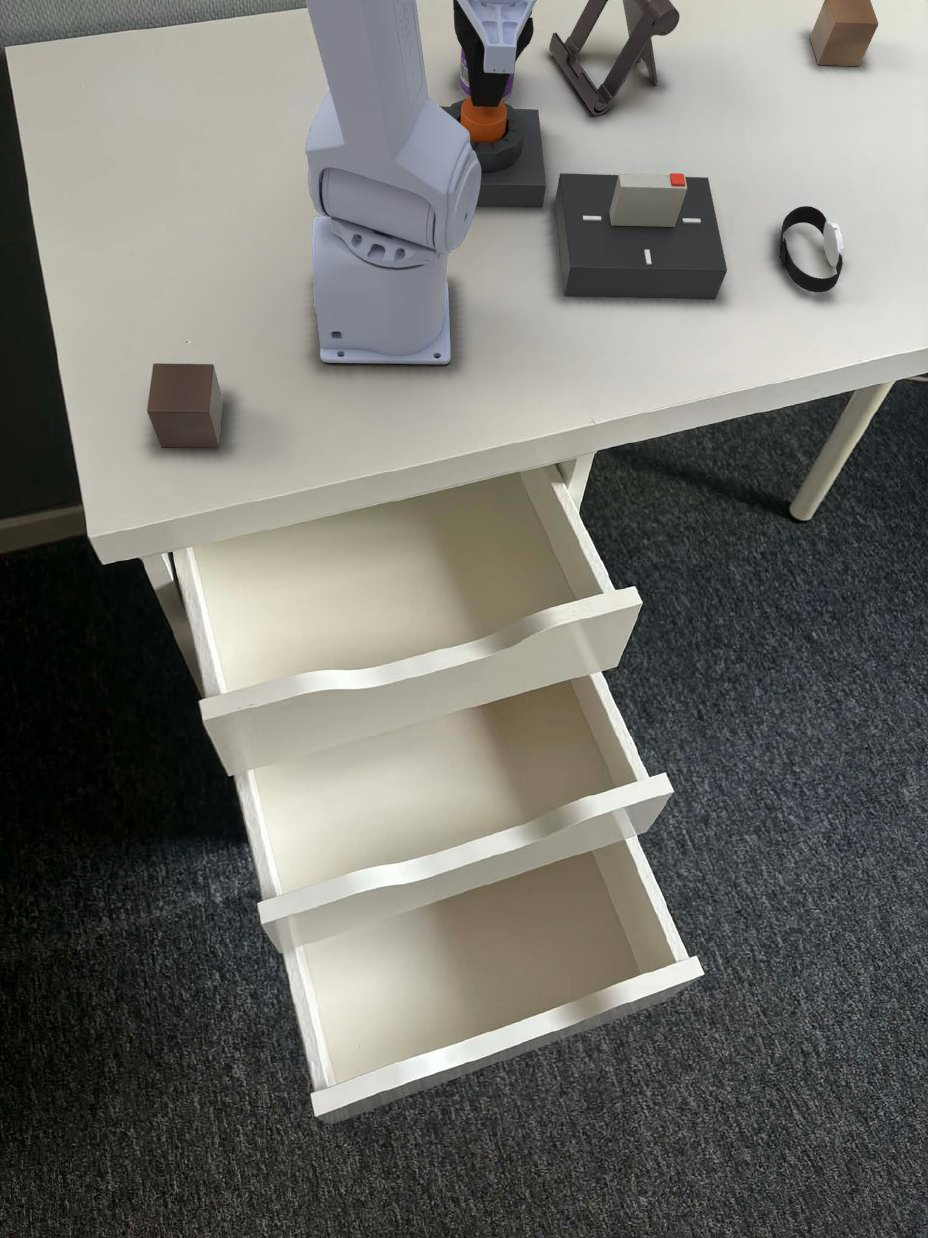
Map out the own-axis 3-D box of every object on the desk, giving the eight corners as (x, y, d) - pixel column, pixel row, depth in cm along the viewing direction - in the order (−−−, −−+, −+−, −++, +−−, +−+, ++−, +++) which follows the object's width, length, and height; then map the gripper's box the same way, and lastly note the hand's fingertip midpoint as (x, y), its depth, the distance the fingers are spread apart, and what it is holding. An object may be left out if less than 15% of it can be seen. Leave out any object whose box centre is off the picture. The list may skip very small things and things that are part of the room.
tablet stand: (546, 55, 86) (561, -43, 78) (623, 38, 87) (645, -59, 80) (589, 118, 82) (608, 22, 75) (668, 99, 84) (694, 4, 76)
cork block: (817, 64, 87) (835, 21, 84) (809, 37, 89) (826, -7, 86) (859, 66, 88) (879, 23, 84) (850, 38, 89) (869, -5, 86)
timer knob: (610, 225, 73) (621, 183, 69) (609, 212, 73) (619, 170, 70) (674, 227, 73) (688, 185, 70) (672, 213, 74) (685, 171, 70)
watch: (846, 296, 75) (866, 261, 72) (790, 300, 75) (808, 265, 71) (817, 226, 78) (835, 189, 75) (763, 229, 78) (779, 192, 75)
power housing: (419, 204, 77) (420, 162, 73) (418, 128, 80) (419, 84, 77) (542, 207, 77) (549, 165, 74) (535, 132, 81) (541, 88, 78)
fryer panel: (563, 296, 73) (570, 265, 70) (554, 203, 78) (560, 170, 75) (715, 299, 74) (728, 268, 71) (697, 207, 78) (708, 175, 76)
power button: (460, 143, 75) (462, 123, 73) (459, 113, 76) (460, 92, 75) (506, 145, 75) (508, 125, 73) (503, 114, 77) (505, 94, 75)
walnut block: (160, 447, 65) (146, 411, 62) (166, 400, 67) (152, 362, 63) (219, 448, 65) (209, 411, 62) (223, 401, 67) (213, 363, 64)
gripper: (573, -22, 58) (543, 167, 71) (555, -153, 65) (530, 41, 77) (458, -27, 58) (448, 164, 70) (451, -159, 64) (443, 38, 76)
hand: (485, 100), depth 73 cm, fingers closed
